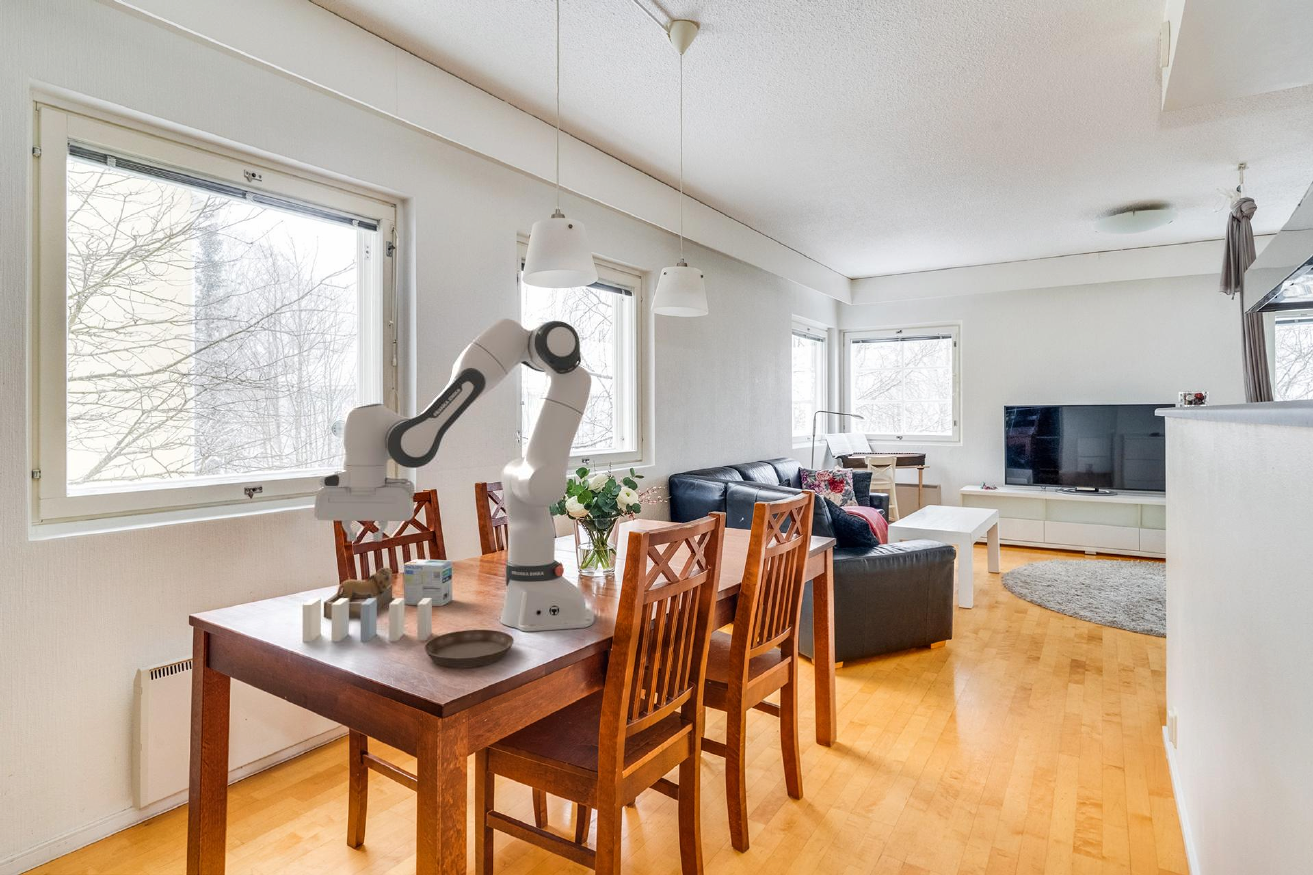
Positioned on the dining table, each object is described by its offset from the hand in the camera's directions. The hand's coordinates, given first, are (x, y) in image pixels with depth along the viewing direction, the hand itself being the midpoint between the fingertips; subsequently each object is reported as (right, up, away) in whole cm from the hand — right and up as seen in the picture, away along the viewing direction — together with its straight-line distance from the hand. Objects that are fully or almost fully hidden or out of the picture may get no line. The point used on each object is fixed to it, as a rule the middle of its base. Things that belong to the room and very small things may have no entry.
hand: (364, 541), depth 148 cm
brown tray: (-12, -20, +24) cm, 33 cm away
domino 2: (-5, -21, 0) cm, 22 cm away
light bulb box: (+4, -21, +29) cm, 36 cm away
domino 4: (+6, -21, +1) cm, 22 cm away
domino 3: (+1, -21, +1) cm, 21 cm away
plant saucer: (+25, -23, -9) cm, 35 cm away
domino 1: (-11, -21, 0) cm, 24 cm away
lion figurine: (-11, -20, +24) cm, 33 cm away
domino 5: (+12, -22, +2) cm, 25 cm away
